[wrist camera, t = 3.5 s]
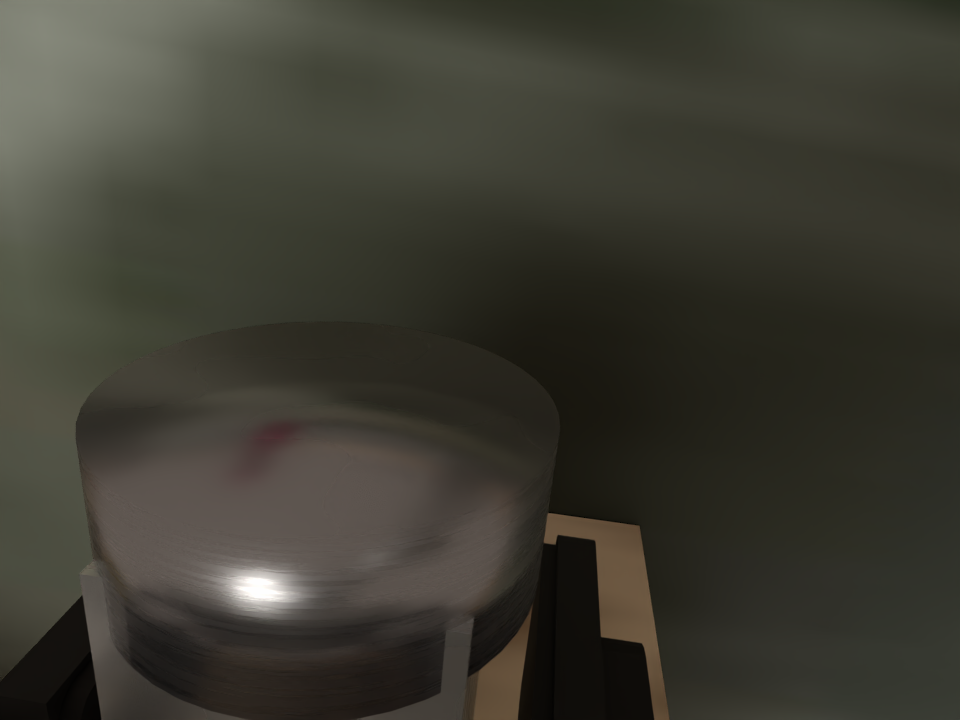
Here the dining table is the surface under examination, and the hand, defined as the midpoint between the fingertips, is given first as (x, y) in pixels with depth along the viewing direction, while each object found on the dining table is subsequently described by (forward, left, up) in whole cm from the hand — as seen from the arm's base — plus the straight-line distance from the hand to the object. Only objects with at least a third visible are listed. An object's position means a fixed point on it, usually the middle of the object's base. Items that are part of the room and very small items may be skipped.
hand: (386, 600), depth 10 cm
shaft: (0, +8, +1) cm, 8 cm away
